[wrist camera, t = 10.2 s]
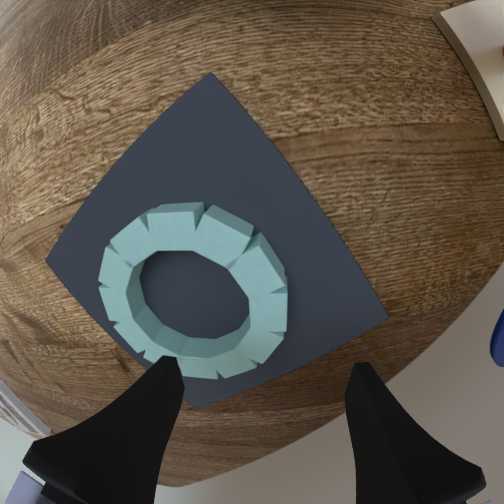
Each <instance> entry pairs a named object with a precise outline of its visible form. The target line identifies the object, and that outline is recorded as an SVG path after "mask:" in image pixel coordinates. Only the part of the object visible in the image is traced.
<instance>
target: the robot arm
mask: <svg viewBox="0 0 504 504" xmlns="http://www.w3.org/2000/svg"><path fill="white" fill-rule="evenodd" d="M184 390H185V386H184V383H183V379H182V376H181V372H180V369H179V365H178V361H177V358H176V357H173V356H166V355H163V356H161V357H160V358H159V359H158V360H157V361H156V362H155V363H154V364H153V365H152V366H151V367H150V368H149V369H148V370H147V371H146V372H145V373H144V374H143V375H142V376H141V377H140V378H139V379H138V380H137V381H136V382H135V383H134V384H133V385H132V386H131V387H130V388H129V389H127V390H126V391H125V392H124V393H123V394H122V395H120V396H119V397H118V398H117V399H116V400H114V401H113V402H112V403H111V404H109V405H108V406H107V407H105V408H104V409H102V410H101V411H100V412H98V413H97V414H95V415H93V416H92V417H90V418H89V419H87V420H85V421H83V422H81V423H80V424H78V425H76V426H74V427H72V428H70V429H67V430H65V431H63V432H60V433H58V434H55V435H52V436H49V437H46V438H43V439H40V440H36V441H34V442H33V444H32V445H31V447H30V448H29V450H28V452H27V453H26V455H25V457H24V459H23V464H24V465H25V466H26V467H27V468H29V469H30V470H31V471H32V472H34V473H35V474H36V475H37V476H39V477H40V478H41V479H43V480H44V481H45V482H46V483H45V485H44V486H43V485H42V484H41V483H39V482H38V481H36V480H35V479H33V478H32V477H30V476H29V475H28V474H26V473H25V472H24V471H21V472H20V474H19V475H18V478H17V479H16V481H15V483H14V485H13V487H12V489H11V491H10V493H9V495H8V497H7V499H6V501H5V504H154V498H155V491H156V485H157V480H158V475H159V471H160V466H161V462H162V458H163V454H164V451H165V448H166V445H167V442H168V440H169V437H170V435H171V432H172V429H173V427H174V424H175V421H176V419H177V416H178V413H179V411H180V408H181V403H182V399H183V395H184ZM345 406H346V416H347V421H348V427H349V432H350V436H351V442H352V447H353V453H354V458H355V466H356V504H466V500H468V499H470V498H471V497H473V496H474V495H476V494H477V493H479V492H480V491H481V490H483V489H484V488H485V487H486V481H485V477H484V474H483V472H482V469H481V467H479V466H477V465H475V464H473V463H471V462H469V461H466V460H465V459H463V458H461V457H459V456H458V455H456V454H455V453H453V452H451V451H450V450H448V449H447V448H446V447H444V446H443V445H442V444H440V443H439V442H438V441H436V440H435V439H434V438H432V437H431V436H430V435H429V434H428V433H427V432H426V431H425V430H424V429H423V428H422V427H421V426H419V425H418V424H417V423H416V421H414V419H413V418H412V417H411V416H410V415H409V414H408V413H407V412H406V411H405V409H404V408H403V407H402V406H401V405H400V403H399V402H398V401H397V400H396V398H395V397H394V396H393V395H392V394H391V392H390V391H389V389H388V388H387V387H386V385H385V384H384V383H383V381H382V380H381V379H380V377H379V376H378V374H377V373H376V371H375V370H374V369H373V367H372V366H371V364H370V363H369V362H363V363H354V366H353V369H352V373H351V376H350V379H349V382H348V385H347V389H346V392H345ZM484 504H493V503H492V500H489V501H488V502H486V503H484Z"/></svg>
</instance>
